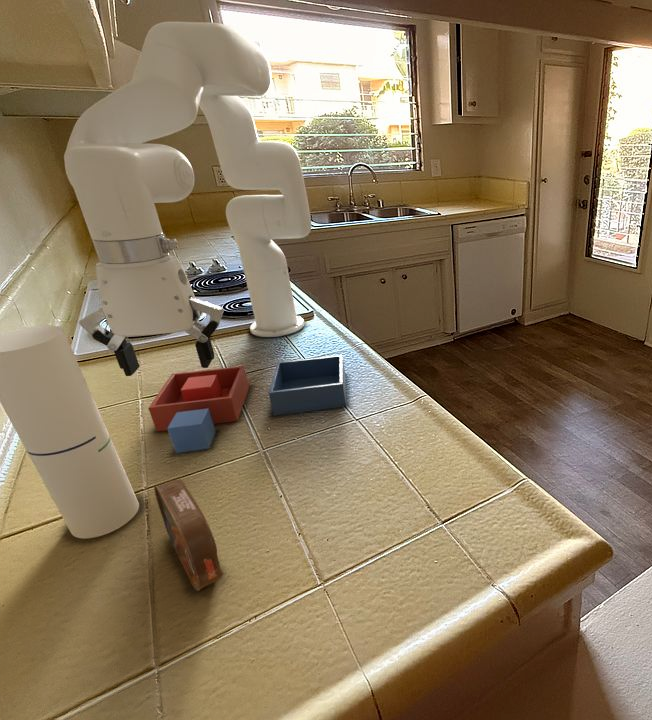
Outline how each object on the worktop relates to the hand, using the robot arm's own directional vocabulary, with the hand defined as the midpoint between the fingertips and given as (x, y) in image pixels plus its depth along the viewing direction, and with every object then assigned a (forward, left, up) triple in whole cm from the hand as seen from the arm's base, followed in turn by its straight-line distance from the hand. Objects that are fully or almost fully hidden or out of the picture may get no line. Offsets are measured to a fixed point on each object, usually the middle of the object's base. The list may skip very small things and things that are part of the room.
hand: (170, 368), depth 67 cm
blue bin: (-11, +17, -13) cm, 24 cm away
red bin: (-11, -1, -13) cm, 17 cm away
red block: (-11, -1, -13) cm, 17 cm away
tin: (+24, +6, -14) cm, 29 cm away
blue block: (0, 0, -13) cm, 13 cm away
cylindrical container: (+14, -7, -14) cm, 21 cm away
